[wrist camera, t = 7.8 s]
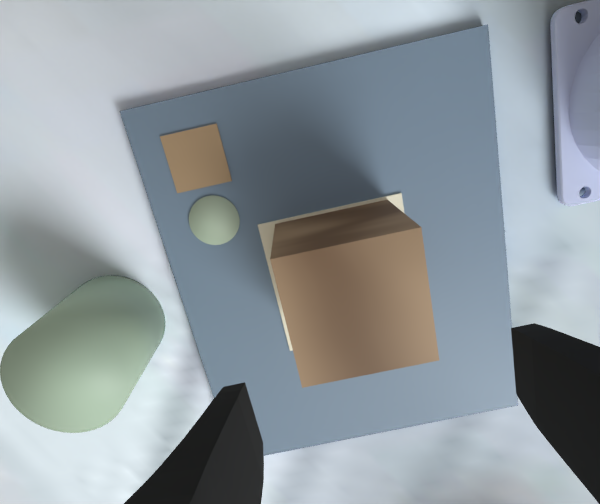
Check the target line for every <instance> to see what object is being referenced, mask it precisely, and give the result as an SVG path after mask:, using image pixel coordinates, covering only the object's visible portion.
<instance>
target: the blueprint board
mask: <svg viewBox="0 0 600 504" xmlns="http://www.w3.org/2000/svg"><path fill="white" fill-rule="evenodd" d="M120 114H121V117H122V120H123V123H124V126H125V129H126V132H127V135H128V138H129V141H130V144H131V147H132V150H133V153H134V156H135V159H136V162H137V165H138V168H139V171H140V174H141V177H142V180H143V183H144V186H145V190H146V193H147V196H148V199H149V202H150V205H151V208H152V211H153V214H154V217H155V220H156V223H157V226H158V229H159V232H160V235H161V238H162V241H163V244H164V247H165V250H166V253H167V256H168V259H169V262H170V265H171V268H172V271H173V275H174V278H175V281H176V284H177V287H178V290H179V293H180V296H181V299H182V302H183V305H184V308H185V311H186V314H187V317H188V320H189V323H190V326H191V329H192V332H193V335H194V338H195V341H196V344H197V347H198V350H199V353H200V356H201V360H202V363H203V366H204V369H205V372H206V375H207V378H208V381H209V384H210V387H211V390H212V393H213V396H214V398H215V397H216V395H217V394H218V393H219V392H220V390H221V389H222V388H223V387H225V386H230V385H234V384H239V383H244V382H245V384H246V387H247V391H248V394H249V397H250V401H251V404H252V407H253V411H254V414H255V417H256V421H257V424H258V427H259V431H260V434H261V437H262V441H263V456H264V455H269V454H275V453H280V452H285V451H290V450H295V449H300V448H305V447H310V446H315V445H320V444H325V443H330V442H335V441H340V440H345V439H350V438H356V437H361V436H366V435H371V434H376V433H381V432H386V431H391V430H396V429H401V428H406V427H411V426H416V425H421V424H426V423H432V422H437V421H442V420H447V419H452V418H457V417H462V416H467V415H472V414H477V413H482V412H487V411H492V410H497V409H502V408H507V407H513V406H518V398H517V394H516V385H515V372H514V360H513V347H512V335H511V328H512V322H511V309H510V296H509V284H508V271H507V259H506V246H505V233H504V221H503V208H502V195H501V183H500V170H499V158H498V145H497V132H496V120H495V107H494V94H493V82H492V69H491V57H490V44H489V31H488V25H483V26H479V27H475V28H471V29H466V30H462V31H458V32H454V33H449V34H445V35H441V36H437V37H432V38H428V39H424V40H420V41H416V42H411V43H407V44H403V45H399V46H394V47H390V48H386V49H382V50H377V51H373V52H369V53H365V54H360V55H356V56H352V57H348V58H343V59H339V60H335V61H331V62H326V63H322V64H318V65H314V66H309V67H305V68H301V69H297V70H293V71H288V72H284V73H280V74H276V75H271V76H267V77H263V78H259V79H254V80H250V81H246V82H242V83H237V84H233V85H229V86H225V87H220V88H216V89H212V90H208V91H203V92H199V93H195V94H191V95H186V96H182V97H178V98H174V99H169V100H165V101H161V102H157V103H153V104H148V105H144V106H140V107H136V108H131V109H127V110H123V111H120ZM383 200H389V201H390V202H391V203H392V204H394V205H395V206H396V207H397V208H398V209H400V210H401V211H402V212H403V213H405V214H406V215H407V216H408V217H409V218H411V219H412V220H413V221H414V222H416V223H417V224H418V225H419V226H421V228H422V236H423V243H424V250H425V258H426V265H427V273H428V280H429V287H430V295H431V302H432V309H433V317H434V324H435V332H436V339H437V346H438V354H439V361H434V362H429V363H424V364H419V365H414V366H409V367H404V368H399V369H394V370H389V371H384V372H379V373H374V374H369V375H364V376H359V377H354V378H349V379H344V380H339V381H334V382H329V383H324V384H319V385H314V386H309V387H304V388H302V385H301V381H300V377H299V373H298V369H297V365H296V361H295V357H294V353H293V349H292V345H291V341H290V337H289V333H288V329H287V325H286V321H285V317H284V313H283V309H282V305H281V301H280V297H279V293H278V289H277V285H276V281H275V277H274V273H273V269H272V265H271V261H270V257H271V250H272V242H273V235H274V228H275V224H277V223H282V222H286V221H291V220H296V219H300V218H305V217H309V216H314V215H319V214H323V213H328V212H332V211H337V210H342V209H346V208H351V207H356V206H360V205H365V204H369V203H374V202H379V201H383Z"/></svg>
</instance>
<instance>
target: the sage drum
mask: <svg viewBox="0 0 600 504" xmlns="http://www.w3.org/2000/svg"><path fill="white" fill-rule="evenodd" d="M164 331H165V316H164V313H163V309H162V307H161V305H160V303H159V301H158V300H157V298H156V297H155V296H154V295H153V294H152V293H151V292H150V291H149V290H148V289H147V288H146V287H145V286H143V285H141V284H140V283H138V282H136V281H134V280H132V279H129V278H126V277H121V276H101V277H97V278H94V279H92V280H89V281H87V282H86V283H84V284H83V285H82V286H80V287H79V288H78V289H77V290H75V291H74V292H73V293H71V294H70V295H69V296H68V297H66V298H65V299H64V300H63V301H61V302H60V303H59V304H58V305H56V306H55V307H54V308H53V309H51V310H50V311H49V312H48V313H46V314H45V315H44V316H43V317H41V318H40V319H39V320H38V321H36V322H35V323H34V324H33V325H31V326H30V327H29V328H27V329H26V330H25V331H24V332H22V333H21V334H20V335H19V336H17V337H16V338H15V339H14V340H13V341H12V342H11V343H10V344H9V346H8V347H7V349H6V350H5V352H4V355H3V357H2V361H1V365H0V376H1V382H2V386H3V388H4V391H5V393H6V395H7V397H8V398H9V400H10V401H11V403H12V404H13V405H14V407H15V408H16V409H17V410H18V411H19V412H20V413H22V414H23V415H24V416H25V417H27V418H28V419H30V420H31V421H33V422H34V423H36V424H38V425H40V426H43V427H45V428H48V429H51V430H55V431H60V432H67V433H80V432H87V431H91V430H95V429H97V428H100V427H102V426H104V425H105V424H107V423H109V422H110V421H111V420H113V419H114V418H115V417H116V416H117V415H118V413H119V412H120V411H121V409H122V408H123V406H124V404H125V402H126V401H127V399H128V397H129V396H130V394H131V392H132V390H133V389H134V387H135V385H136V384H137V382H138V380H139V378H140V377H141V375H142V373H143V371H144V370H145V368H146V366H147V365H148V363H149V361H150V359H151V358H152V356H153V354H154V352H155V351H156V349H157V347H158V346H159V344H160V342H161V340H162V338H163V335H164Z"/></svg>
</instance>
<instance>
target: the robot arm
mask: <svg viewBox="0 0 600 504" xmlns="http://www.w3.org/2000/svg"><path fill="white" fill-rule="evenodd" d="M577 11H579V12H580V13H581V16H582V18H581V21H580V23H579V24H578V23H577V22H576V21H575V14H576V12H577ZM550 28H551V53H552V78H553V103H554V128H555V153H556V178H557V197H558V200H559V202H560V203H562V204H564V205H567V206H575V205H579V204H584V203H589V202H593V201H598V200H600V0H588V1H583V2H579V3H575V4H571V5H567V6H564V7H562V8H560V9H558V10H557V11H556V12H555V13H554V14H553V16H552V18H551V23H550ZM583 187H585V193H584V194H583V195H582V196H579V191H580V190H581V188H583ZM511 335H512V347H513V360H514V372H515V385H516V394H517V396H518V397H519V399H520V401H521V402H522V404H523V406H524V407H525V409H526V411H527V412H528V414H529V415H530V417H531V419H532V420H533V422H534V423H535V425H536V426H537V428H538V429H539V430H540V432H541V433H542V434H543V435H544V437H545V438H546V439H547V440H548V442H549V443H550V444H551V445H552V447H553V448H554V449H555V450H556V451H557V453H558V454H559V455H560V456H561V458H562V459H563V460H564V461H565V463H566V464H567V465H568V466H569V467H570V469H571V470H572V471H573V472H574V473H575V475H576V476H577V477H578V478H579V480H580V481H581V482H582V483H583V484H584V486H585V487H586V488H587V489H588V491H589V492H590V493H591V494H592V495H593V497H594V498H595V499H596V500H597V502H598V503H599V504H600V347H598V346H595V345H593V344H590V343H587V342H585V341H582V340H580V339H577V338H574V337H572V336H569V335H566V334H564V333H561V332H558V331H556V330H553V329H550V328H547V327H544V326H541V325H538V324H529V325H525V326H520V327H515V328H511ZM263 471H264V459H263V441H262V437H261V434H260V431H259V427H258V424H257V421H256V417H255V414H254V411H253V407H252V404H251V401H250V397H249V394H248V391H247V387H246V384H245V382H244V383H239V384H234V385H230V386H225V387H223V388H222V389H221V390H220V392H219V393H218V394H217V395H216V397H215V398H214V399H213V401H212V402H211V403H210V405H209V406H208V408H207V409H206V410H205V412H204V413H203V414H202V416H201V417H200V418H199V420H198V421H197V422H196V423H195V425H194V426H193V427H192V429H191V430H190V431H189V433H188V434H187V435H186V436H185V438H184V439H183V440H182V441H181V442H180V444H179V445H178V446H177V447H176V448H175V450H174V451H173V452H172V453H171V454H170V455H169V457H168V458H167V459H166V460H165V461H164V462H163V464H162V465H161V466H160V467H159V468H158V469H157V470H156V472H155V473H154V474H153V475H152V476H151V477H150V478H149V479H148V480H147V481H146V482H145V483H144V484H143V485H142V486H141V487H140V488H139V489H138V490H137V491H136V492H135V493H134V494H133V495H132V496H131V497H130V498H129V499H128V500H127V501H126V502H125V503H124V504H261V498H262V489H263Z"/></svg>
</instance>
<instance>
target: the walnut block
mask: <svg viewBox="0 0 600 504" xmlns="http://www.w3.org/2000/svg"><path fill="white" fill-rule="evenodd" d="M270 261H271V265H272V269H273V273H274V277H275V281H276V285H277V289H278V293H279V297H280V301H281V305H282V309H283V313H284V317H285V321H286V325H287V329H288V333H289V337H290V341H291V345H292V349H293V353H294V357H295V361H296V365H297V369H298V373H299V377H300V381H301V385H302V388H304V387H309V386H314V385H319V384H324V383H329V382H334V381H339V380H344V379H349V378H354V377H359V376H364V375H369V374H374V373H379V372H384V371H389V370H394V369H399V368H404V367H409V366H414V365H419V364H424V363H429V362H434V361H439V354H438V346H437V339H436V332H435V324H434V317H433V309H432V302H431V295H430V287H429V280H428V273H427V265H426V258H425V250H424V243H423V236H422V228H421V226H419V225H418V224H417V223H416V222H414V221H413V220H412V219H411V218H409V217H408V216H407V215H406V214H405V213H403V212H402V211H401V210H400V209H398V208H397V207H396V206H395V205H394V204H392V203H391V202H390V201H389V200H383V201H379V202H374V203H369V204H365V205H360V206H356V207H351V208H346V209H342V210H337V211H332V212H328V213H323V214H319V215H314V216H309V217H305V218H300V219H296V220H291V221H286V222H282V223H277V224H275V228H274V235H273V242H272V250H271V257H270Z"/></svg>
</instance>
